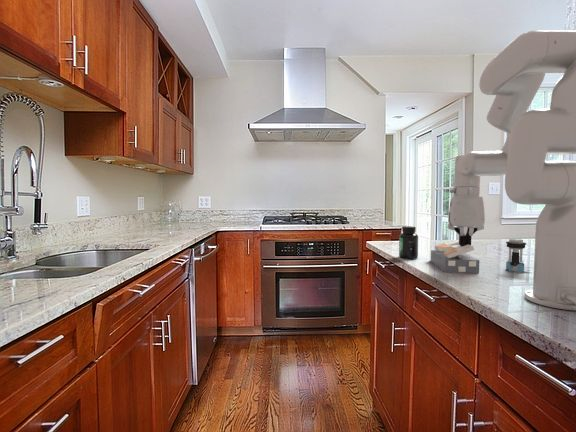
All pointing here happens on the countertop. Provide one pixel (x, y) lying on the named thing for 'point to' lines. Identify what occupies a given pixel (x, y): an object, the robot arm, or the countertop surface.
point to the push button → (515, 255)
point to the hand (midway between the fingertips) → (464, 247)
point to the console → (455, 262)
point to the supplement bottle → (408, 243)
